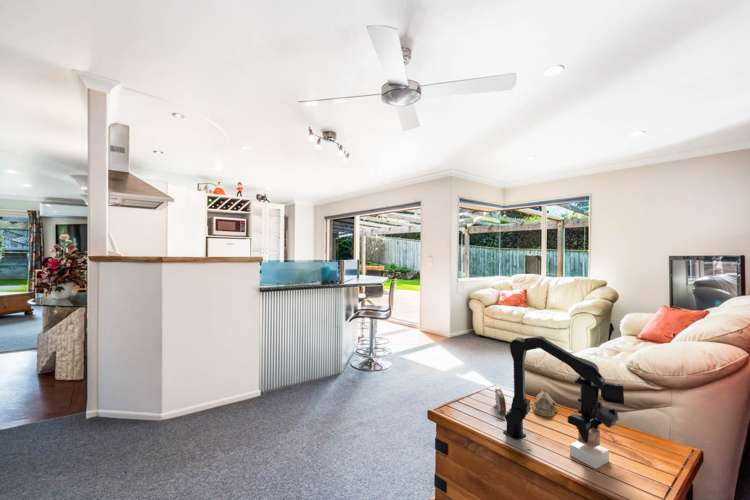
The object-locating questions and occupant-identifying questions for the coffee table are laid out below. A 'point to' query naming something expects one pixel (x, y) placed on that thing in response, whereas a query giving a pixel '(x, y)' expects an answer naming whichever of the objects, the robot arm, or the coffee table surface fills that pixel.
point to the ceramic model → (544, 404)
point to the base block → (589, 454)
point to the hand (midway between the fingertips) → (589, 440)
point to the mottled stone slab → (500, 401)
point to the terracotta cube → (591, 438)
